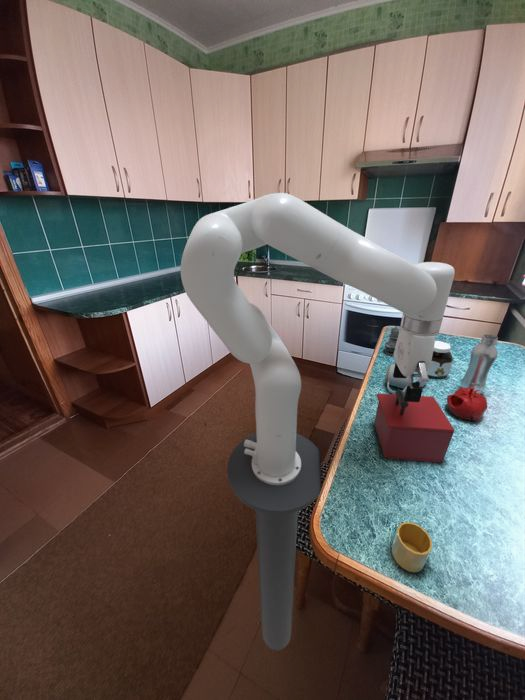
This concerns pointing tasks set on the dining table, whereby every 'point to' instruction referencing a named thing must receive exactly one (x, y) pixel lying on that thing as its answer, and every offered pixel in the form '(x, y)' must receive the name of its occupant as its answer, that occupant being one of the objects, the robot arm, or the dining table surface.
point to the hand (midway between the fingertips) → (405, 388)
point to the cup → (411, 546)
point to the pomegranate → (467, 403)
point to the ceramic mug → (395, 380)
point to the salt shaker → (392, 342)
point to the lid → (413, 413)
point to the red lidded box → (411, 442)
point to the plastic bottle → (480, 363)
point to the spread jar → (440, 360)
